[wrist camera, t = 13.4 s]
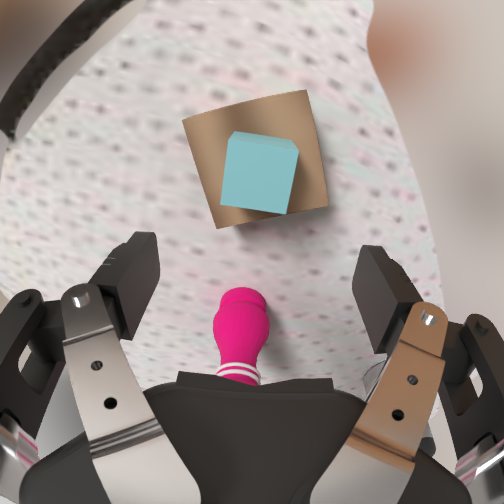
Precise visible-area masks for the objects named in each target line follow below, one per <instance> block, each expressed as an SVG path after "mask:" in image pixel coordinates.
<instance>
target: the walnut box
mask: <svg viewBox="0 0 504 504" xmlns="http://www.w3.org/2000/svg"><path fill="white" fill-rule="evenodd" d="M182 122H183V125H184V129H185V132H186V135H187V138H188V142H189V145H190V148H191V151H192V155H193V158H194V161H195V164H196V167H197V170H198V173H199V177H200V180H201V183H202V186H203V189H204V192H205V195H206V198H207V201H208V204H209V207H210V210H211V214H212V217H213V220H214V223H215V226H216V229H220V228H224V227H229V226H233V225H238V224H242V223H247V222H252V221H256V220H261V219H266V218H270V217H275V216H280V215H285V214H280V213H273V212H267V211H261V210H254V209H247V208H240V207H233V206H226V205H220V202H221V194H222V186H223V177H224V169H225V162H226V154H227V146H228V140H229V138H230V137H231V135H232V134H233V133H234V131H237V132H244V133H251V134H258V135H265V136H271V137H277V138H282V139H288V140H292V141H293V143H294V144H295V146H296V147H297V149H298V150H299V154H298V159H297V163H296V168H295V173H294V178H293V183H292V188H291V192H290V197H289V202H288V206H287V211H286V214H290V213H295V212H300V211H305V210H310V209H315V208H320V207H325V206H329V203H328V196H327V190H326V184H325V178H324V172H323V166H322V161H321V155H320V150H319V145H318V140H317V135H316V130H315V125H314V120H313V115H312V111H311V106H310V102H309V98H308V93H307V90H299V91H293V92H288V93H282V94H277V95H272V96H268V97H263V98H258V99H254V100H250V101H246V102H241V103H237V104H234V105H230V106H226V107H222V108H219V109H215V110H211V111H208V112H205V113H201V114H198V115H195V116H192V117H189V118H186V119H183V120H182Z"/></svg>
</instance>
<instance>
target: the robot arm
mask: <svg viewBox="0 0 504 504" xmlns="http://www.w3.org/2000/svg"><path fill="white" fill-rule="evenodd" d="M159 278H160V263H159V255H158V247H157V239H156V235H155V233H154V232H135V233H134V234H133V235H132V237H131V238H130V239H129V240H128V242H127V243H122V244H121V245H119V246H118V247H116V248H115V249H113V250H112V252H111V253H110V254H109V255H108V257H107V258H106V259H105V261H104V262H103V265H101V266H100V267H99V268H98V270H97V271H96V272H95V274H94V275H93V276H92V278H91V279H90V280H89V282H88V283H83V284H78V285H75V286H73V287H71V288H69V289H68V290H67V291H66V292H65V293H64V294H63V295H62V297H61V300H55V301H45V302H44V300H43V298H42V295H41V293H40V292H39V291H38V290H36V289H27V290H24V291H22V292H20V293H18V294H16V295H15V296H14V297H13V298H12V299H11V300H10V302H9V303H8V304H7V306H6V307H5V308H4V310H3V311H2V313H1V314H0V495H1V496H3V497H5V498H7V499H9V500H11V501H12V502H14V503H16V504H504V341H503V339H502V337H501V336H500V334H499V333H498V331H497V329H496V328H495V326H494V324H493V323H492V322H491V321H490V320H489V319H487V318H486V317H484V316H482V315H479V314H471V315H469V316H468V317H467V319H466V321H465V323H464V325H463V324H458V323H454V322H449V321H448V318H447V316H446V314H445V313H444V311H443V310H442V309H440V308H439V307H438V306H436V305H434V304H432V303H429V302H424V301H423V299H422V298H421V296H420V294H419V293H418V291H417V290H416V288H415V286H414V285H413V283H411V280H410V279H409V277H408V276H407V274H406V272H405V271H404V269H403V268H402V266H400V265H399V264H398V263H397V262H395V261H394V260H393V259H390V258H389V256H388V255H387V253H386V252H385V250H384V249H383V247H382V246H373V245H363V246H362V248H361V250H360V254H359V257H358V261H357V265H356V269H355V273H354V276H353V281H352V291H353V295H354V297H355V300H356V303H357V305H358V308H359V311H360V313H361V316H362V319H363V322H364V324H365V327H366V330H367V333H368V336H369V339H370V341H371V344H372V347H373V350H374V353H375V354H382V353H387V356H388V357H387V359H386V361H385V362H382V363H380V364H378V365H376V366H374V367H373V368H372V369H370V370H369V371H368V372H367V374H366V375H365V377H364V384H365V389H366V392H367V396H366V398H365V400H364V401H363V400H362V399H360V398H358V397H356V396H354V395H352V394H349V393H347V392H344V391H340V390H336V389H334V387H333V381H332V378H318V379H291V380H287V381H282V382H276V383H271V384H265V385H259V386H254V385H249V384H246V383H242V382H238V381H235V380H231V379H228V378H224V377H221V376H218V375H210V374H200V373H191V372H183V371H179V372H178V376H177V381H176V382H170V383H165V384H160V385H157V386H154V387H151V388H149V389H146V390H145V391H143V392H142V390H141V388H140V386H139V384H138V382H137V380H136V378H135V376H134V374H133V372H132V369H131V367H130V365H129V363H128V361H127V358H126V356H125V354H124V351H123V349H122V347H121V344H120V339H125V340H131V341H132V340H133V337H134V335H135V333H136V330H137V328H138V326H139V323H140V321H141V319H142V317H143V314H144V312H145V310H146V308H147V305H148V303H149V301H150V299H151V297H152V294H153V292H154V290H155V288H156V286H157V284H158V281H159ZM26 345H28V346H29V348H30V350H31V351H32V352H31V354H30V356H29V357H28V360H27V361H26V363H25V365H24V367H23V369H22V371H21V373H20V371H19V368H18V361H19V357H20V356H21V354H22V352H23V350H24V348H25V347H26ZM66 363H67V367H68V372H69V376H70V380H71V384H72V388H73V392H74V396H75V399H76V403H77V406H78V410H79V413H80V416H81V419H82V422H83V425H84V428H85V431H84V432H83V433H81V434H80V435H78V436H77V437H75V438H74V439H72V440H71V441H69V442H68V443H66V444H65V445H63V446H61V447H60V448H58V449H57V450H55V451H54V452H52V453H51V454H49V455H47V456H46V457H44V458H43V459H41V460H40V458H39V457H38V449H37V445H36V442H35V439H36V436H37V433H38V430H39V428H40V425H41V422H42V419H43V417H44V414H45V412H46V409H47V406H48V404H49V401H50V399H51V396H52V394H53V392H54V389H55V387H56V384H57V382H58V379H59V377H60V375H61V373H62V370H63V368H64V366H65V364H66ZM475 368H476V369H477V371H478V373H479V375H480V377H481V380H482V383H483V390H482V393H481V395H480V397H479V398H478V396H477V394H476V391H475V389H474V386H473V384H472V382H471V379H470V377H469V375H470V374H471V373H472V372H473V370H474V369H475ZM437 392H438V394H439V397H440V400H441V403H442V406H443V409H444V412H445V416H446V419H447V422H448V426H449V429H450V433H451V436H452V440H453V444H454V448H455V452H456V456H457V460H458V462H457V464H456V468H455V474H452V473H451V472H450V471H448V470H447V469H446V468H445V467H443V466H442V465H441V464H439V463H438V462H437V461H436V460H435V459H433V458H432V456H433V455H434V454H435V451H436V447H435V443H434V440H433V437H432V434H431V430H430V427H429V424H428V420H429V417H430V414H431V411H432V408H433V405H434V402H435V399H436V395H437Z"/></svg>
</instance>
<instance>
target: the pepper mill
mask: <svg viewBox="0 0 504 504" xmlns="http://www.w3.org/2000/svg"><path fill="white" fill-rule="evenodd" d="M269 328H270V323H269V319H268V316H267V315H266V305H265V300H264V298H263V297H262V295H261V294H259V293H258V292H257V291H255V290H253V289H250V288H245V287H239V288H234V289H231V290H229V291H228V292H226V293H225V294H224V295H223V297H222V299H221V302H220V308H219V311H218V312H217V313H216V315H215V317H214V321H213V333H214V338H215V341H216V343H217V345H218V348H219V350H220V355H221V365H220V366H219V367H218V368H217V369H216V371H215V374H214V375H218V376H221V377H224V378H228V379H231V380H235V381H238V382H242V383H246V384H249V385H254V386H259V385H261V383H260V378H261V376H260V373H259V371H258V370H257V369H256V362H257V356H258V353H259V352H260V350H261V349H262V347H263V346H264V344H265V342H266V340H267V338H268V335H269Z"/></svg>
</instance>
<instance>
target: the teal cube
mask: <svg viewBox="0 0 504 504" xmlns="http://www.w3.org/2000/svg"><path fill="white" fill-rule="evenodd" d="M298 154H299V150H298V149H297V147H296V146H295V144H294V143H293V141H292V140H288V139H282V138H277V137H271V136H265V135H258V134H251V133H244V132H237V131H234V133H233V134H232V135H231V137H230V138H229V140H228V146H227V154H226V162H225V169H224V177H223V186H222V194H221V202H220V205H226V206H233V207H240V208H247V209H254V210H261V211H267V212H273V213H280V214H286V211H287V206H288V202H289V197H290V192H291V188H292V183H293V178H294V173H295V168H296V163H297V159H298Z"/></svg>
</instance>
